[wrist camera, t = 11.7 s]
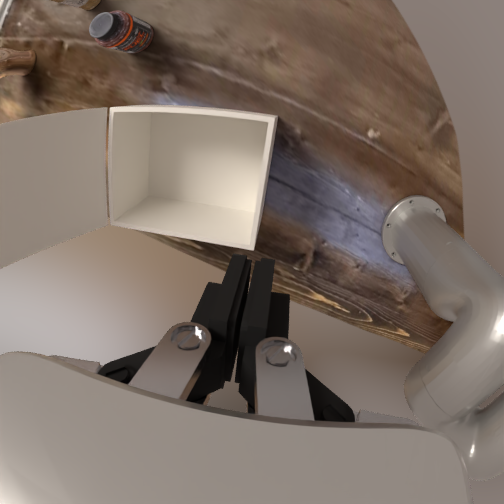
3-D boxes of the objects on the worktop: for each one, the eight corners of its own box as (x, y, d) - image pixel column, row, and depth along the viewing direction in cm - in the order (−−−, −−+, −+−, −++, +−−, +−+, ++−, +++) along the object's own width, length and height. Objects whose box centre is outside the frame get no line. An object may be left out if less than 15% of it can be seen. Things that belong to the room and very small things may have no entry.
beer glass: (20, 83, 37) (-32, 91, 24) (17, 58, 34) (-34, 62, 21) (39, 67, 36) (-17, 70, 23) (36, 41, 33) (-17, 40, 20)
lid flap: (-48, 138, 13) (-47, 138, 14) (-21, 278, 21) (-22, 275, 21) (107, 107, 29) (104, 107, 29) (108, 225, 36) (105, 223, 37)
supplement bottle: (140, 59, 36) (100, 51, 26) (117, 45, 34) (75, 36, 24) (162, 30, 33) (126, 13, 23) (137, 17, 32) (99, 1, 22)
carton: (278, 116, 39) (274, 117, 28) (262, 215, 46) (253, 250, 36) (151, 104, 39) (110, 107, 29) (146, 197, 47) (110, 224, 36)
